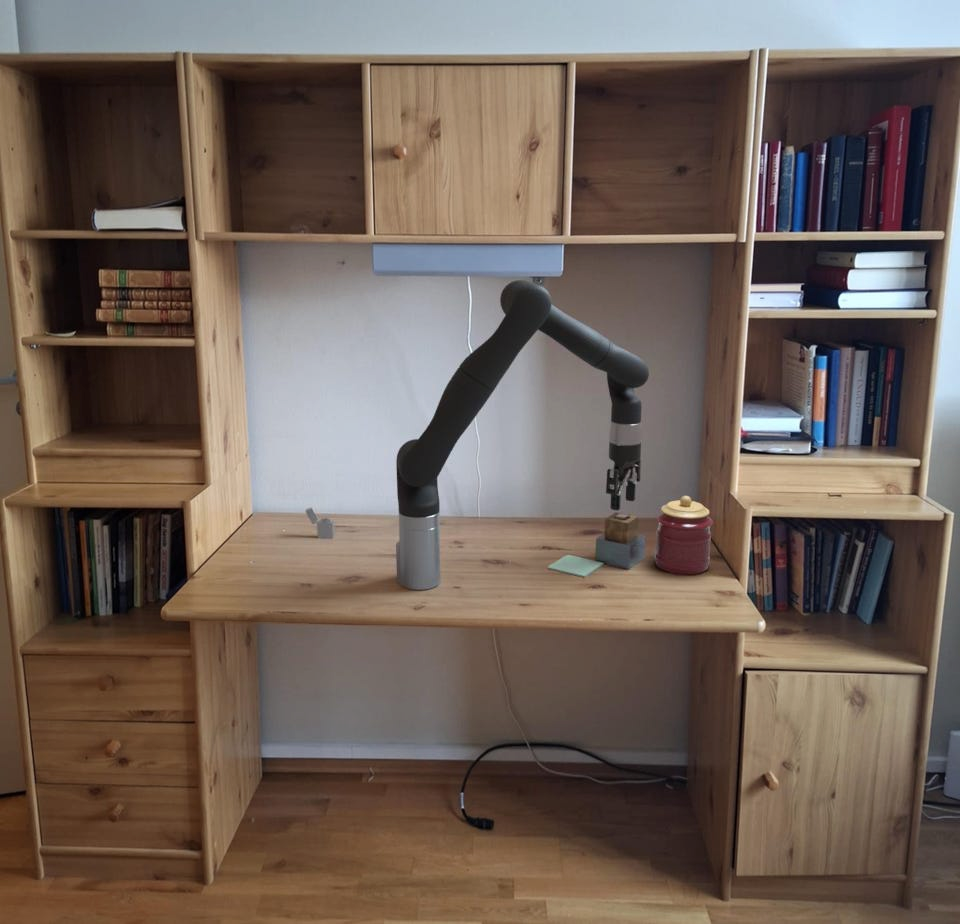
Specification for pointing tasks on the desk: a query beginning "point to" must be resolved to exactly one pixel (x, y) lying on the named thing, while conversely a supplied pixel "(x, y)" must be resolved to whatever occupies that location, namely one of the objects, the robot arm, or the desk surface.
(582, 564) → the mat
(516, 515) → the desk surface
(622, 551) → the block
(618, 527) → the hollow wooden block
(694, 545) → the canister
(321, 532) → the lighter
